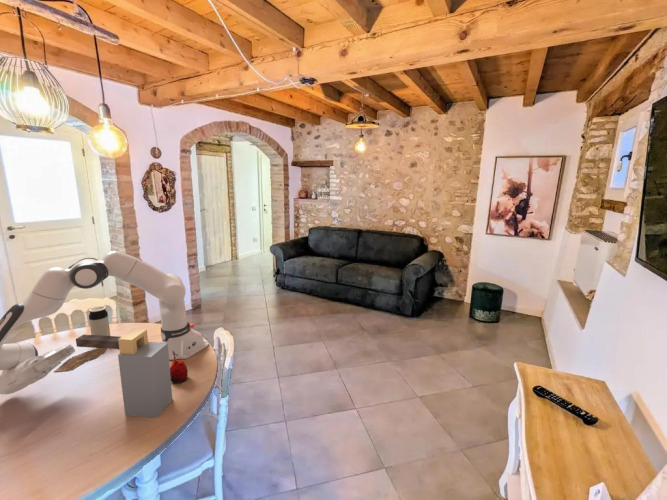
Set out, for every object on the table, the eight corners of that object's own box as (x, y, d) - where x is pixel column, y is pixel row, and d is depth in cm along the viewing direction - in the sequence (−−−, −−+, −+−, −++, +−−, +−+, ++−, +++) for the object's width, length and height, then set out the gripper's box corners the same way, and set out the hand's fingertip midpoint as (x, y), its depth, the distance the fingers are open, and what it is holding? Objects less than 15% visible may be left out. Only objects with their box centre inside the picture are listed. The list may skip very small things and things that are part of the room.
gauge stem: (76, 346, 116) (75, 339, 115) (84, 342, 119) (83, 334, 119) (129, 349, 115) (129, 342, 114) (136, 345, 118) (135, 337, 118)
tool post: (125, 415, 117) (116, 340, 111) (143, 397, 126) (135, 327, 120) (157, 417, 116) (149, 342, 110) (172, 399, 126) (166, 329, 120)
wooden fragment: (63, 375, 140) (63, 373, 139) (46, 370, 143) (45, 368, 143) (118, 347, 164) (118, 346, 164) (102, 344, 167) (102, 342, 167)
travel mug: (112, 340, 171) (108, 308, 167) (94, 345, 165) (90, 312, 161) (108, 335, 176) (104, 304, 172) (90, 340, 170) (86, 308, 166)
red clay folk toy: (191, 376, 141) (189, 345, 138) (180, 386, 134) (178, 353, 131) (177, 373, 143) (174, 342, 139) (165, 383, 136) (162, 350, 133)
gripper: (-2, 379, 111) (27, 363, 109) (53, 349, 131) (78, 335, 129) (10, 394, 112) (39, 378, 110) (62, 362, 132) (88, 348, 130)
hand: (61, 354), depth 119 cm, fingers open, 8 cm apart
